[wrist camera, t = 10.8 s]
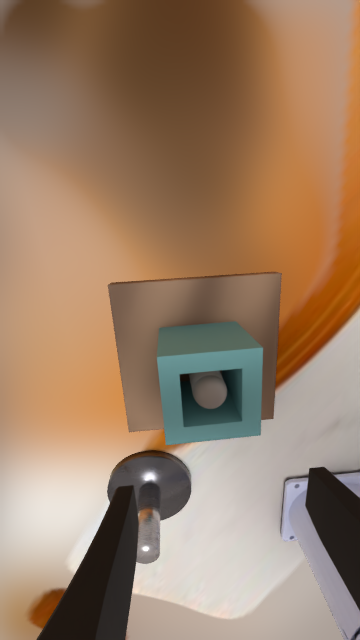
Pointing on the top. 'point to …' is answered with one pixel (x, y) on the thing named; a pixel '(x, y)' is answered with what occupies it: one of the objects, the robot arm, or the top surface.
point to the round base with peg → (152, 494)
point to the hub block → (181, 310)
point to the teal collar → (202, 356)
